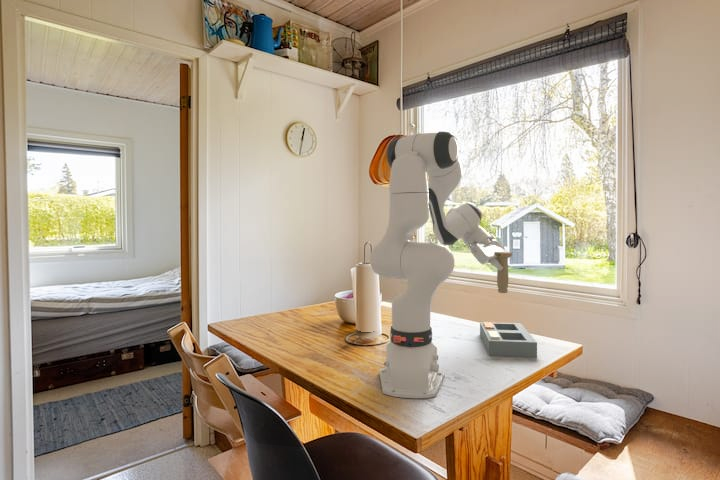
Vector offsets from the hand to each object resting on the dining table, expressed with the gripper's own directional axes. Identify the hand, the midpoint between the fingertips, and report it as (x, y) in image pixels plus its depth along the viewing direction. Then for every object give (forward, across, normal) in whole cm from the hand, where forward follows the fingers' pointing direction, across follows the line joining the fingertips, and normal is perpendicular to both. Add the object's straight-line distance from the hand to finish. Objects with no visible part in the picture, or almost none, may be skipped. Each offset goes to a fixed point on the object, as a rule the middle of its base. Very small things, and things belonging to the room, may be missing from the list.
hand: (504, 268), depth 147 cm
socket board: (+21, -5, +16) cm, 27 cm away
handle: (+6, 0, +7) cm, 9 cm away
